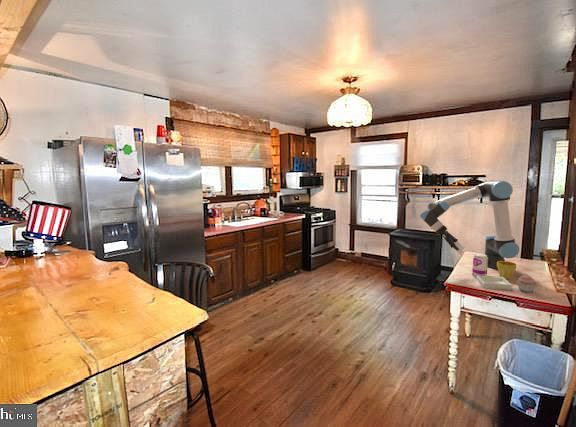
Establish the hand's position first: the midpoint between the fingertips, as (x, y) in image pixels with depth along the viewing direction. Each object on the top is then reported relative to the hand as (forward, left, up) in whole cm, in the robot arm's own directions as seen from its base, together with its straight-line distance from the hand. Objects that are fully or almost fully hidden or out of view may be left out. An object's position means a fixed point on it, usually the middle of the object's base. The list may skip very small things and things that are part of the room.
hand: (462, 251), depth 201 cm
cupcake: (+23, +29, -17) cm, 40 cm away
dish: (+17, +14, -16) cm, 27 cm away
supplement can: (+3, +10, -17) cm, 20 cm away
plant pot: (0, +26, -17) cm, 31 cm away
